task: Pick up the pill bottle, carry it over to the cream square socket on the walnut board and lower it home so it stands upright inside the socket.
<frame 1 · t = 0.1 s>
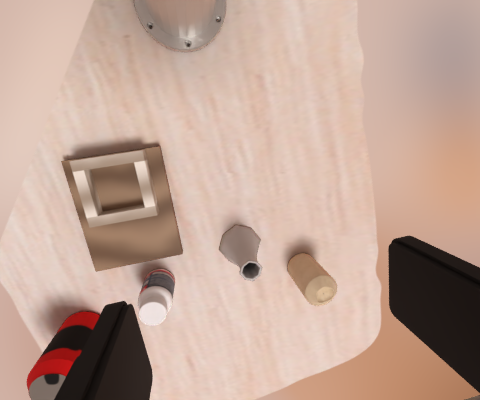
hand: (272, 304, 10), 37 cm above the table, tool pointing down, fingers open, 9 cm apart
flask: (239, 243, 49), on the table
soda can: (86, 328, 48), on the table
candle: (300, 265, 52), on the table
pill bottle: (160, 281, 48), on the table
socket board: (128, 208, 44), on the table
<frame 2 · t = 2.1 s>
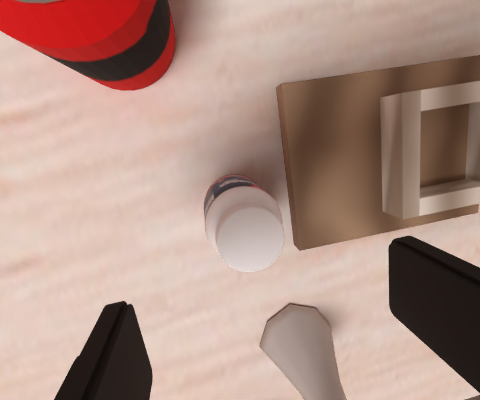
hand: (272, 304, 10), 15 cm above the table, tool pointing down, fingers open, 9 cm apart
flask: (293, 332, 28), on the table
soda can: (123, 37, 20), on the table
pill bottle: (233, 203, 24), on the table
socket board: (379, 154, 25), on the table
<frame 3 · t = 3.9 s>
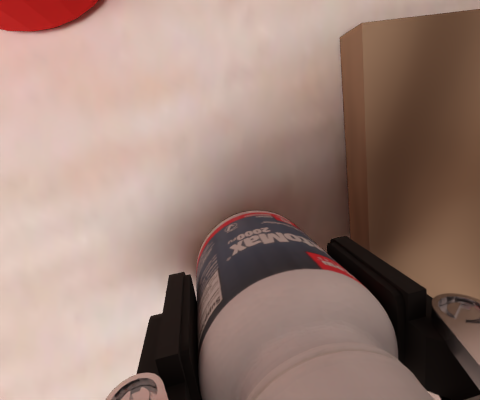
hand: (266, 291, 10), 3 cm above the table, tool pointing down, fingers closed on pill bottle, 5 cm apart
pill bottle: (251, 259, 13), on the table, touching gripper
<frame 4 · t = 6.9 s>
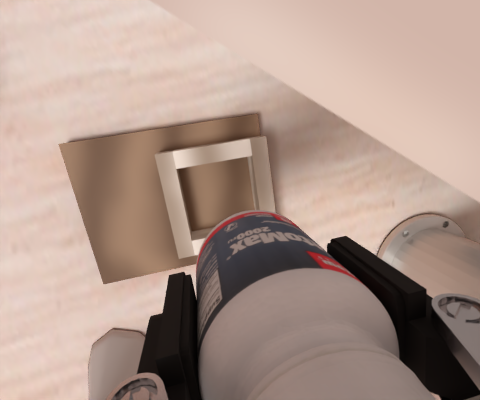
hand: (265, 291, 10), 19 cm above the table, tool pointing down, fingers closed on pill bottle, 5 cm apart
flask: (123, 353, 31), on the table
pill bottle: (251, 259, 13), point 16 cm above the table, touching gripper
socket board: (179, 197, 28), on the table
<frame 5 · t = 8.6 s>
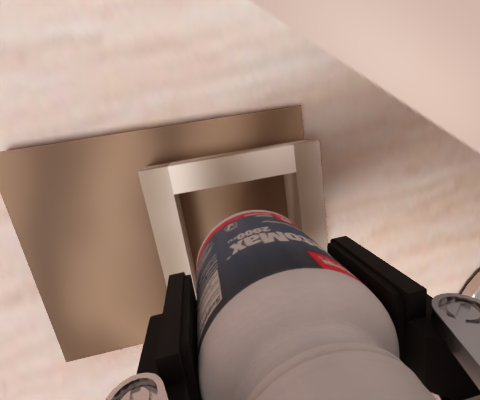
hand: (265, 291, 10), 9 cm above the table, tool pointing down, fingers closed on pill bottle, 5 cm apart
pill bottle: (251, 259, 13), point 7 cm above the table, touching gripper
socket board: (180, 231, 19), on the table
when the fingers open (5 cm above the table, at t = 9.9 s): pill bottle stays where it is, resting on socket board.
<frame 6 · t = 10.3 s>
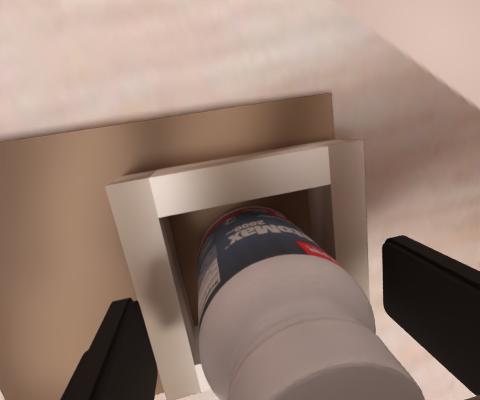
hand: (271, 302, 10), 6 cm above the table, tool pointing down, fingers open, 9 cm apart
pill bottle: (249, 252, 14), point 1 cm above the table, touching socket board
socket board: (170, 257, 15), on the table
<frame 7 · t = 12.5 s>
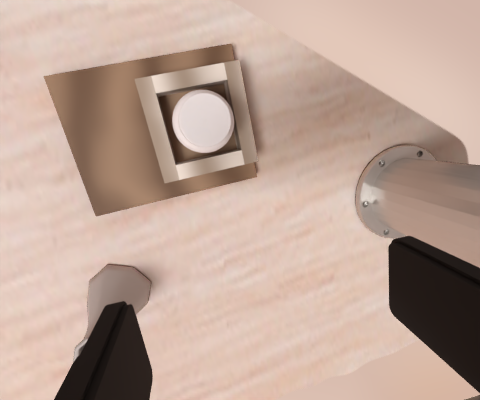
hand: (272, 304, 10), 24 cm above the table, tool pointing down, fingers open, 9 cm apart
flask: (120, 290, 33), on the table
pill bottle: (200, 124, 29), point 1 cm above the table, touching socket board
socket board: (163, 132, 30), on the table
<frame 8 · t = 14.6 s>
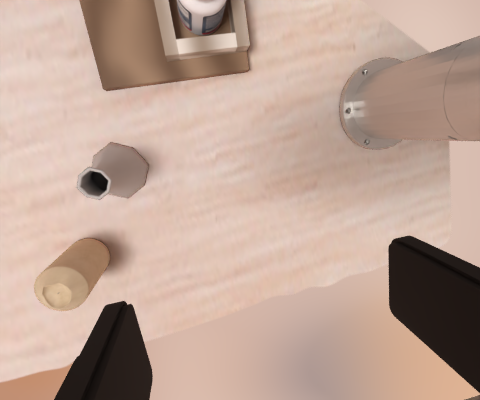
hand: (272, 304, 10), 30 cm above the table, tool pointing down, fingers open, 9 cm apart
flask: (120, 170, 37), on the table
candle: (90, 255, 38), on the table
pill bottle: (200, 12, 33), point 1 cm above the table, touching socket board
socket board: (167, 20, 33), on the table
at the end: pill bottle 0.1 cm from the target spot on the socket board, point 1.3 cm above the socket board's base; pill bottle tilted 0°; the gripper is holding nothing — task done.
